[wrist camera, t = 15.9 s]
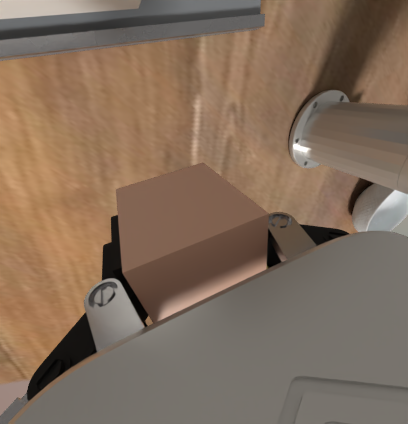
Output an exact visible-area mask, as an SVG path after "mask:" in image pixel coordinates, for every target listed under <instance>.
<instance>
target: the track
mask: <svg viewBox="0 0 408 424" xmlns="http://www.w3.org/2000/svg"><path fill="white" fill-rule="evenodd" d="M260 3H261V0H141V3H140V5H139V8H138V9H126V10H114V11H101V12H88V13H75V14H62V15H49V16H36V17H24V18H11V19H0V61H3V60H11V59H19V58H27V57H36V56H44V55H52V54H60V53H69V52H77V51H85V50H93V49H102V48H110V47H118V46H126V45H135V44H143V43H151V42H159V41H168V40H176V39H184V38H192V37H201V36H209V35H217V34H225V33H234V32H242V31H250V30H256V29H258V28H261V27H263V26H264V21H265V14H260Z"/></svg>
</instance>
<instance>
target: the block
mask: <svg viewBox="0 0 408 424" xmlns="http://www.w3.org/2000/svg"><path fill="white" fill-rule="evenodd" d="M116 197H117V210H118V223H119V236H120V249H121V262H122V273H123V275H124V276H125V278H126V280H127V281H128V283H129V285H130V286H131V288H132V289H133V291H134V293H135V294H136V296H137V297H138V299H139V301H140V302H141V304H142V305H143V307H144V309H145V310H146V312H147V313H148V315H149V317H150V318H151V320H152V322H153V323H155V322H158V321H160V320H162V319H164V318H166V317H168V316H170V315H172V314H174V313H176V312H178V311H180V310H182V309H184V308H187V307H189V306H191V305H193V304H195V303H197V302H199V301H201V300H203V299H205V298H207V297H209V296H212V295H214V294H216V293H218V292H220V291H222V290H224V289H226V288H228V287H230V286H232V285H235V284H237V283H239V282H241V281H243V280H245V279H247V278H249V277H251V276H253V275H256V274H258V273H260V272H262V271H264V270H266V266H267V243H268V221H269V213H268V212H266V211H265V210H264V209H262V208H261V207H260V206H259V205H257V204H256V203H255V202H253V201H252V200H251V199H250V198H248V197H247V196H246V195H244V194H243V193H242V192H240V191H239V190H238V189H237V188H235V187H234V186H233V185H231V184H230V183H229V182H228V181H226V180H225V179H224V178H222V177H221V176H220V175H219V174H217V173H216V172H215V171H213V170H212V169H211V168H210V167H208V166H207V165H206V164H204V163H200V164H197V165H193V166H190V167H187V168H184V169H180V170H177V171H174V172H171V173H167V174H164V175H161V176H158V177H154V178H151V179H148V180H145V181H141V182H138V183H135V184H131V185H128V186H125V187H122V188H118V189H116Z"/></svg>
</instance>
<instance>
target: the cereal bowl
mask: <svg viewBox="0 0 408 424" xmlns="http://www.w3.org/2000/svg"><path fill="white" fill-rule="evenodd" d="M407 215H408V194H405V193H402V192H399V191H396V190H393V189H391V188H388V187H385V186H382V185H379V184H376V183H374V184H373V185H371V186H369V187H368V188H366V189H365V190H364V191H363V192H362V193H361V194H360V195H359V197H358V198H357V200H356V202H355V205H354V210H353V213H352V223H353V225H354V227H355V229H356V230H357V231H358V232H365V231H391V230H392V229H393V228H395V227H396V226H397V225H398V224H399V223H400V222H401V221H402V220H403V219H404V218H405V217H406V216H407Z"/></svg>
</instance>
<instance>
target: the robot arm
mask: <svg viewBox="0 0 408 424" xmlns="http://www.w3.org/2000/svg"><path fill="white" fill-rule="evenodd" d="M289 151H290V155H291V158H292V160H293V161H294V162H295V163H296V164H297V165H299V166H301V167H303V168H314V167H317V166H319V165H321V164H322V165H325V166H328V167H331V168H334V169H336V170H339V171H342V172H345V173H348V174H351V175H354V176H356V177H359V178H362V179H365V180H368V181H371V182H373V183H376V184H379V185H382V186H385V187H388V188H391V189H393V190H396V191H399V192H402V193H405V194H408V105H392V104H374V103H355V102H349V99H348V97H347V96H346V94H345V93H343V92H342V91H339V90H326V91H323V92H321V93H319V94H317V95H315V96H314V97H313V98H311V99H310V100H309V101H308V102H307V103H306V104H305V106H304V107H303V108H302V110H301V111H300V112H299V114H298V116H297V118H296V120H295V122H294V124H293V127H292V130H291V134H290V139H289ZM111 237H112V242H111V243H108V244H105V245H104V246H103V266H102V281H101V282H99V283H97V284H96V285H95V286H93V287H92V288H91V289H90V290H89V292H88V293H87V295H86V297H85V300H84V307H85V311H86V313H85V314H84V315H83V316H82V317H81V318H80V320H79V321H78V322H77V323H76V324H75V325H74V327H73V328H72V329H71V330H70V331H69V332H68V334H67V335H66V336H65V337H64V338H63V339H62V341H61V342H60V343H59V344H58V345H57V347H56V348H55V349H54V350H53V351H52V352H51V354H50V355H49V356H48V357H47V358H46V359H45V361H44V362H43V363H42V364H41V365H40V366H39V368H38V369H37V371H36V372H35V373H34V375H33V377H32V379H31V381H30V383H29V386H28V390H27V393H26V394H25V395H24V396H23V397H22V398H21V399H20V398H17V399H16V400H15V401H14V402H13V403H12V404H11V405H10V406H9V407H8V408H7V409H6V410H5V411H4V413H3V414H2V415H1V416H0V424H408V237H407V236H404V235H401V234H398V233H395V232H390V231H365V232H358V233H353V234H349V233H347V232H345V231H342V230H339V229H333V228H325V227H317V226H309V225H301V224H299V223H298V222H297V221H296V220H295V219H294V218H293V217H292V216H291V215H289V214H287V213H283V212H274V213H270V214H269V221H268V243H267V266H266V270H264V271H262V272H260V273H258V274H256V275H253V276H251V277H249V278H247V279H245V280H243V281H241V282H239V283H237V284H235V285H232V286H230V287H228V288H226V289H224V290H222V291H220V292H218V293H216V294H214V295H212V296H209V297H207V298H205V299H203V300H201V301H199V302H197V303H195V304H193V305H191V306H189V307H187V308H184V309H182V310H180V311H178V312H176V313H174V314H172V315H170V316H168V317H166V318H164V319H162V320H160V321H158V322H155V323H153V324H151V325H149V326H148V325H147V323H146V321H145V320H146V319H147V317H148V313H147V312H146V310H145V309H144V307H143V305H142V304H141V302H140V301H139V299H138V297H137V296H136V294H135V293H134V291H133V289H132V288H131V286H130V285H129V283H128V281H127V280H126V278H125V276H124V275H123V273H122V262H121V249H120V236H119V223H118V215H116V216H113V217H111Z"/></svg>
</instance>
